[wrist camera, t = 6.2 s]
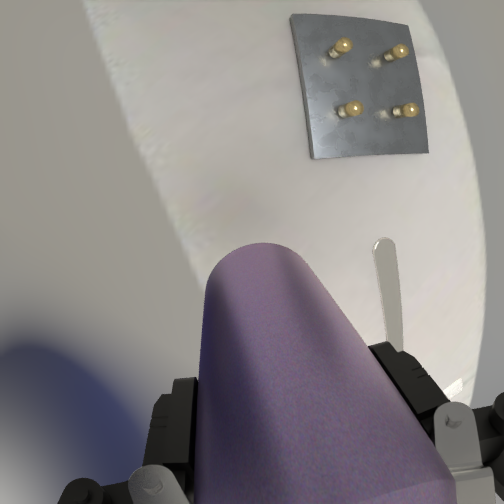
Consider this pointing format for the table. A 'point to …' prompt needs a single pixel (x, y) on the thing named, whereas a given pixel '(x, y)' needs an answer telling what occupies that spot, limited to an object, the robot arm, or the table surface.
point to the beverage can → (299, 398)
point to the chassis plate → (359, 86)
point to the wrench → (389, 290)
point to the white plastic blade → (453, 389)
